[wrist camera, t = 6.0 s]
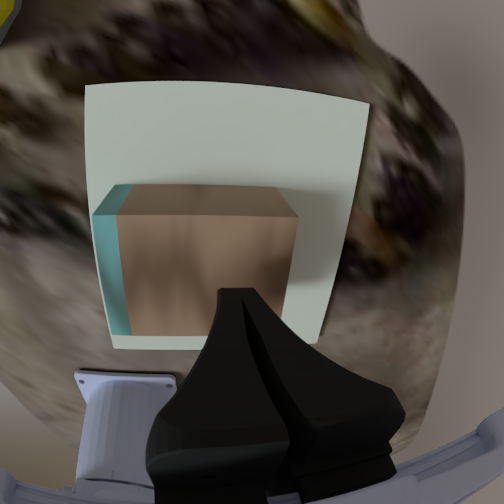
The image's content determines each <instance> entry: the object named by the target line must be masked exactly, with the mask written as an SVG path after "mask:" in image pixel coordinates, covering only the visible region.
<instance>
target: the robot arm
mask: <svg viewBox="0 0 504 504" xmlns="http://www.w3.org/2000/svg"><path fill="white" fill-rule="evenodd" d="M74 377H75V379H76V382H77V384H78V386H79V388H80V391H81V393H82V395H83V397H84V399H85V401H86V403H87V408H86V413H85V418H84V424H83V430H82V436H81V442H80V449H79V456H78V464H77V473H76V480H75V484H74V487H73V491H72V488H71V487H67V486H63V488H62V489H59V490H54V489H49V488H45V487H41V486H37V485H34V484H29V483H26V482H23V481H19V480H16V479H15V477H14V476H13V475H12V474H11V473H9V472H8V471H7V470H5V469H3V468H1V467H0V504H459V503H460V502H462V501H463V500H465V499H467V498H468V497H470V496H471V495H473V494H474V493H476V492H477V491H479V490H480V489H481V488H483V487H485V486H486V485H487V484H489V483H490V482H492V481H493V480H494V479H496V478H497V477H498V476H500V475H501V474H502V473H503V472H504V408H501V409H500V410H498V411H496V412H494V413H493V414H491V415H489V416H488V417H487V418H485V419H484V420H483V421H482V422H481V423H480V425H479V426H478V427H477V429H476V430H474V431H472V432H470V433H468V434H466V435H464V436H462V437H460V438H458V439H456V440H454V441H452V442H450V443H448V444H446V445H444V446H442V447H439V448H437V449H435V450H433V451H431V452H428V453H426V454H424V455H421V456H419V457H416V458H414V459H412V460H409V461H406V462H404V463H401V464H398V465H395V466H394V464H393V461H392V459H391V457H390V455H389V454H390V453H391V452H392V447H391V445H390V443H389V440H390V439H391V438H392V437H393V435H394V434H395V433H396V432H397V430H398V429H399V428H400V427H401V425H402V423H403V422H404V419H405V415H406V413H405V411H404V409H403V407H402V405H401V403H400V401H399V400H398V398H397V396H396V395H395V393H394V392H393V390H392V389H391V388H388V387H386V386H383V385H381V384H378V383H375V382H373V381H370V380H368V379H365V378H363V377H361V376H359V375H357V374H355V373H353V372H351V371H349V370H347V369H345V368H343V367H341V366H340V365H338V364H336V363H335V362H333V361H332V360H330V359H328V358H327V357H325V356H324V355H322V354H321V353H319V352H318V351H316V350H315V349H314V348H313V347H311V346H310V345H309V344H307V343H306V342H305V341H303V340H302V339H301V338H300V337H299V336H298V335H297V334H295V333H294V332H293V331H292V330H291V329H290V328H289V327H288V326H287V325H286V324H285V323H284V322H283V321H282V320H281V319H280V318H279V317H278V315H277V314H276V313H275V312H274V311H273V310H272V309H271V308H270V307H269V305H268V304H267V303H266V302H265V301H264V299H263V298H262V297H261V296H260V295H259V293H258V292H257V291H256V290H255V289H254V288H253V287H248V288H220V289H218V290H217V308H216V313H215V316H214V320H213V323H212V326H211V329H210V332H209V334H208V337H207V340H206V342H205V344H204V346H203V349H202V351H201V353H200V355H199V357H198V359H197V360H196V362H195V364H194V366H193V367H192V369H191V371H190V372H189V374H188V376H187V377H186V379H185V380H184V381H183V383H182V384H181V385H180V387H179V388H178V390H177V386H176V378H175V377H174V376H173V375H170V374H132V373H112V372H96V371H83V370H77V371H75V374H74Z"/></svg>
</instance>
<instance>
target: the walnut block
mask: <svg viewBox="0 0 504 504" xmlns="http://www.w3.org/2000/svg"><path fill="white" fill-rule="evenodd" d="M298 219H299V217H298V216H297V215H296V213H295V212H294V211H293V209H292V208H291V207H290V205H289V204H288V203H287V202H286V200H285V199H284V198H283V196H282V195H281V194H280V193H279V191H278V190H277V189H276V187H262V186H238V185H200V184H127V185H114V186H113V188H112V189H111V190H110V191H109V193H108V194H107V195H106V197H105V198H104V199H103V201H102V202H101V203H100V205H99V206H98V207H97V209H96V210H95V212H94V213H93V214H92V223H93V232H94V240H95V247H96V254H97V261H98V267H99V273H100V279H101V284H102V290H103V295H104V300H105V305H106V310H107V315H108V319H109V324H110V328H111V333H112V335H126V336H208V334H209V332H210V329H211V326H212V323H213V320H214V316H215V313H216V308H217V290H218V289H220V288H248V287H253V288H254V289H255V290H256V291H257V292H258V293H259V295H260V296H261V297H262V298H263V299H264V301H265V302H266V303H267V304H268V305H269V307H270V308H271V309H272V310H273V311H274V312H275V313H276V314H277V315H278V317H279V318H280V319H281V316H282V311H283V305H284V300H285V295H286V289H287V284H288V278H289V273H290V267H291V261H292V255H293V250H294V244H295V238H296V232H297V226H298Z"/></svg>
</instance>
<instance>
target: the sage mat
mask: <svg viewBox="0 0 504 504" xmlns="http://www.w3.org/2000/svg"><path fill="white" fill-rule="evenodd" d="M369 106H370V104H369V103H364V102H360V101H355V100H350V99H346V98H341V97H335V96H330V95H325V94H319V93H313V92H307V91H300V90H293V89H286V88H278V87H269V86H260V85H249V84H237V83H222V82H201V81H144V82H123V83H108V84H97V85H87V86H85V159H86V177H87V191H88V203H89V213H90V222H91V230H92V238H93V246H94V253H95V259H96V265H97V271H98V277H99V283H100V288H101V294H102V299H103V304H104V308H105V313H106V318H107V322H108V327H109V331H110V335H111V339H112V343H113V347H114V348H117V349H150V350H202V349H203V346H204V344H205V342H206V340H207V337H208V336H126V335H112V333H111V328H110V324H109V319H108V315H107V310H106V305H105V300H104V295H103V290H102V284H101V279H100V273H99V267H98V261H97V254H96V247H95V240H94V232H93V223H92V214H93V213H94V212H95V210H96V209H97V207H98V206H99V205H100V203H101V202H102V201H103V199H104V198H105V197H106V195H107V194H108V193H109V191H110V190H111V189H112V188H113V186H114V185H127V184H200V185H238V186H262V187H276V189H277V190H278V191H279V193H280V194H281V195H282V196H283V198H284V199H285V200H286V202H287V203H288V204H289V205H290V207H291V208H292V209H293V211H294V212H295V213H296V215H297V216H298V217H299V219H298V226H297V232H296V238H295V244H294V250H293V255H292V261H291V267H290V273H289V278H288V284H287V289H286V295H285V300H284V305H283V311H282V316H281V320H282V321H283V322H284V323H285V324H286V325H287V326H288V327H289V328H290V329H291V330H292V331H293V332H294V333H295V334H297V335H298V336H299V337H300V338H301V339H302V340H303V341H305V342H306V343H307V344H311V343H317V340H318V337H319V333H320V330H321V326H322V323H323V320H324V316H325V313H326V309H327V305H328V302H329V298H330V294H331V291H332V287H333V283H334V279H335V276H336V272H337V268H338V264H339V260H340V256H341V251H342V247H343V243H344V239H345V234H346V230H347V226H348V221H349V217H350V212H351V207H352V203H353V198H354V193H355V188H356V183H357V178H358V172H359V167H360V162H361V156H362V150H363V144H364V138H365V132H366V126H367V119H368V113H369Z"/></svg>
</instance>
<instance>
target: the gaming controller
mask: <svg viewBox="0 0 504 504" xmlns="http://www.w3.org/2000/svg"><path fill="white" fill-rule="evenodd" d="M21 4H22V0H0V45H1V43H2V41H3V39H4V37H5V35H6V34H7V32H8V30H9V28H10V26H11V25H12V23H13V21H14V19H15V18H16V16H17V14H18V13H19V11H20V10H21Z"/></svg>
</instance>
